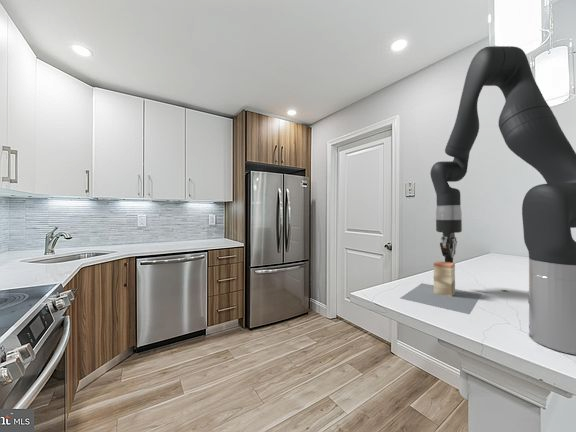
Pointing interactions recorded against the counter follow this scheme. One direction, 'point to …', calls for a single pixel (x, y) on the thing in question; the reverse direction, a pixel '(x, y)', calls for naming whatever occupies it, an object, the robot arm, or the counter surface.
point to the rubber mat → (443, 298)
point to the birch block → (444, 278)
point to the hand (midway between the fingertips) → (449, 267)
